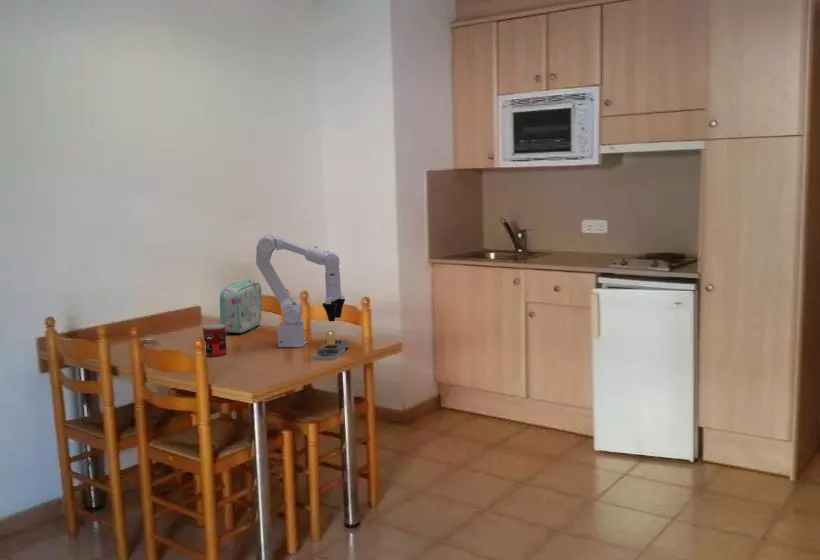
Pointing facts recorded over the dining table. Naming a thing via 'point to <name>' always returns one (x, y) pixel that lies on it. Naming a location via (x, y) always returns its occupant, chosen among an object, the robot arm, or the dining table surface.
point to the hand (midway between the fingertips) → (334, 319)
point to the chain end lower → (326, 355)
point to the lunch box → (240, 306)
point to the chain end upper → (338, 347)
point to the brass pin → (330, 339)
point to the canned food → (215, 340)
